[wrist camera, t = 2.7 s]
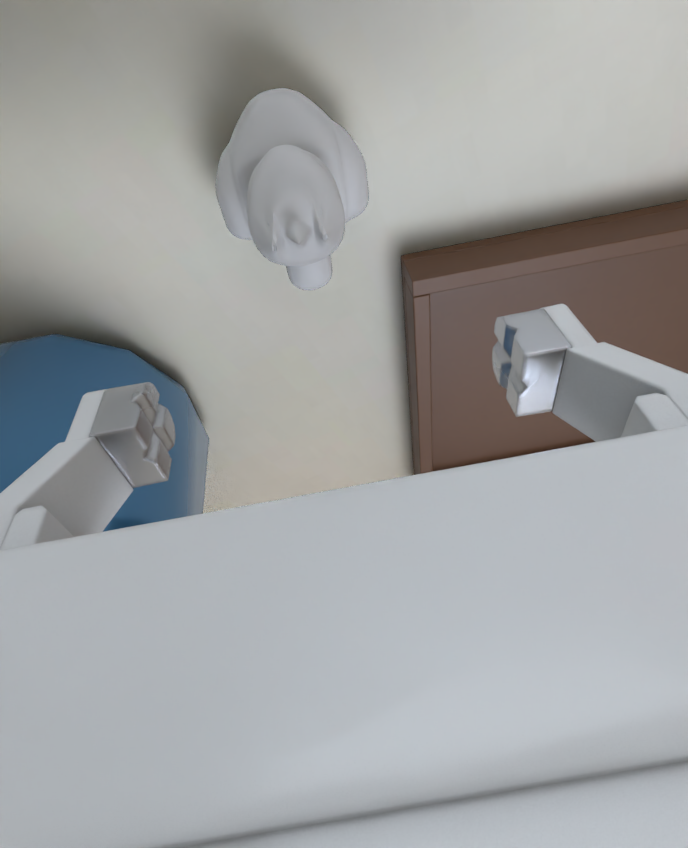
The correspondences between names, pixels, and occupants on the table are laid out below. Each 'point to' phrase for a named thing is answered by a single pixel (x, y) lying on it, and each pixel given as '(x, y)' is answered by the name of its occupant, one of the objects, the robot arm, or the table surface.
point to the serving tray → (525, 291)
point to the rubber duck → (291, 183)
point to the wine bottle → (57, 405)
